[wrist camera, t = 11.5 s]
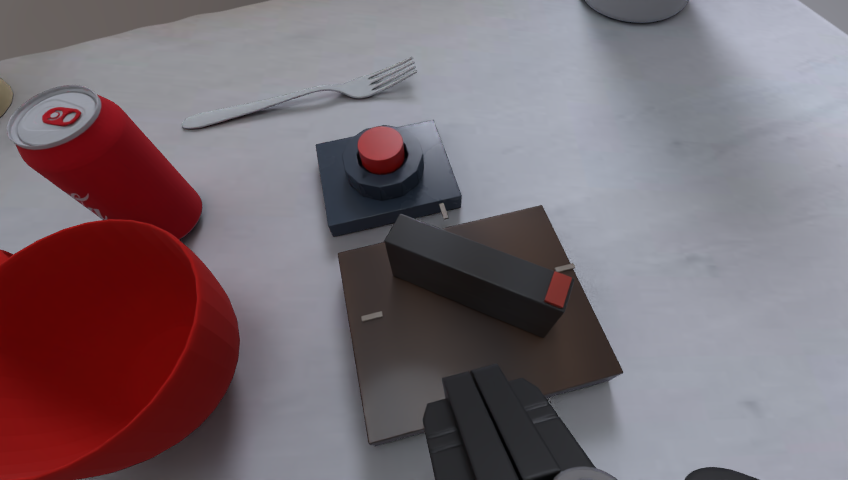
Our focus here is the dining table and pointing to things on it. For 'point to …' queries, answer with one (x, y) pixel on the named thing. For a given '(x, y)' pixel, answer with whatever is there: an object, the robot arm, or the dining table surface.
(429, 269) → the bar knob
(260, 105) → the fork
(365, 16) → the dining table surface
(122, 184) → the beverage can
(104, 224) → the ceramic cup
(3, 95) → the cake
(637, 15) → the cylinder vase
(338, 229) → the button box
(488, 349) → the control panel
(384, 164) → the red button
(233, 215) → the dining table surface
